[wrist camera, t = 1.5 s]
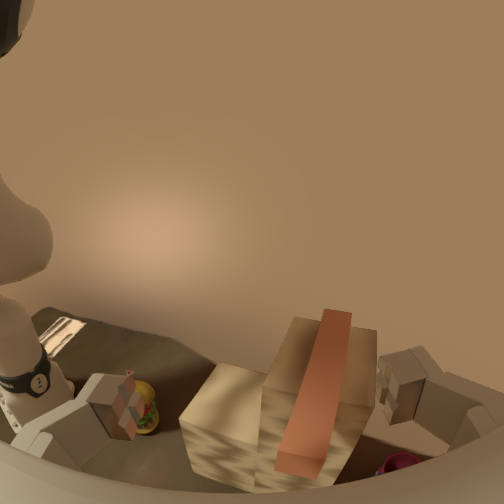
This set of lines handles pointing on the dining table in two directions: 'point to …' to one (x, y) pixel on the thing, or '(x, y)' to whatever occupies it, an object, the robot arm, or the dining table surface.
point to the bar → (316, 400)
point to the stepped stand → (275, 414)
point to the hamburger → (146, 407)
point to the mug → (397, 462)
